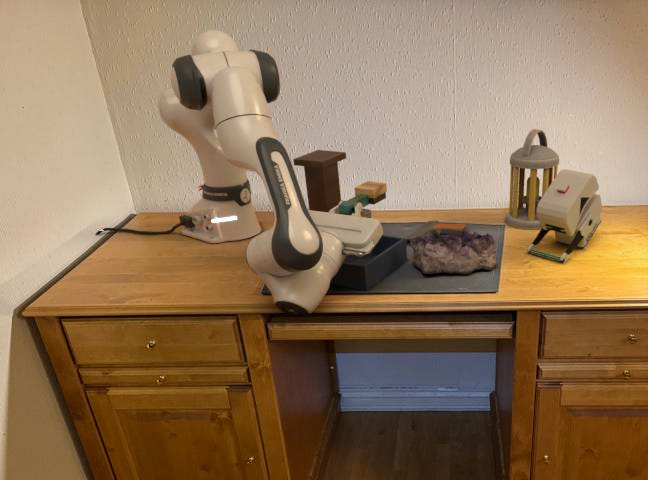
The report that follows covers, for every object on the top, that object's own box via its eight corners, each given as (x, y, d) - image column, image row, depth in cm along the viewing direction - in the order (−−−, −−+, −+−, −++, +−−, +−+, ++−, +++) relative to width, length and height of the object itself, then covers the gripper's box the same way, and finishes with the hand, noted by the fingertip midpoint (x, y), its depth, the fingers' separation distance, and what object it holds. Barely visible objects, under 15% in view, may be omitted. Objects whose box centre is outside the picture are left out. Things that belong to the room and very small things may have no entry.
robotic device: (538, 274, 171) (514, 225, 156) (578, 212, 176) (559, 158, 161) (572, 285, 165) (551, 234, 150) (613, 220, 170) (597, 165, 154)
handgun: (447, 249, 168) (405, 244, 172) (468, 230, 180) (428, 225, 185) (447, 243, 167) (404, 238, 171) (468, 223, 180) (427, 219, 184)
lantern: (521, 210, 194) (525, 122, 182) (565, 218, 187) (572, 127, 175) (496, 223, 185) (499, 131, 172) (541, 232, 177) (547, 137, 165)
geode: (490, 256, 164) (494, 219, 157) (499, 279, 154) (503, 241, 148) (409, 258, 161) (409, 220, 155) (413, 282, 152) (414, 243, 146)
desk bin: (323, 282, 151) (320, 259, 148) (366, 254, 167) (365, 232, 164) (366, 290, 147) (364, 266, 144) (407, 260, 162) (406, 238, 159)
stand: (306, 261, 163) (293, 159, 151) (328, 247, 171) (317, 149, 159) (333, 265, 160) (322, 162, 148) (354, 252, 168) (345, 152, 156)
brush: (353, 216, 142) (352, 200, 140) (334, 213, 144) (332, 198, 142) (387, 197, 153) (386, 183, 152) (368, 195, 155) (367, 181, 154)
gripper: (362, 247, 133) (389, 198, 138) (280, 235, 140) (308, 188, 146) (372, 267, 138) (397, 218, 143) (292, 254, 146) (319, 208, 151)
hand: (352, 203), depth 145 cm, fingers closed on brush, 2 cm apart
